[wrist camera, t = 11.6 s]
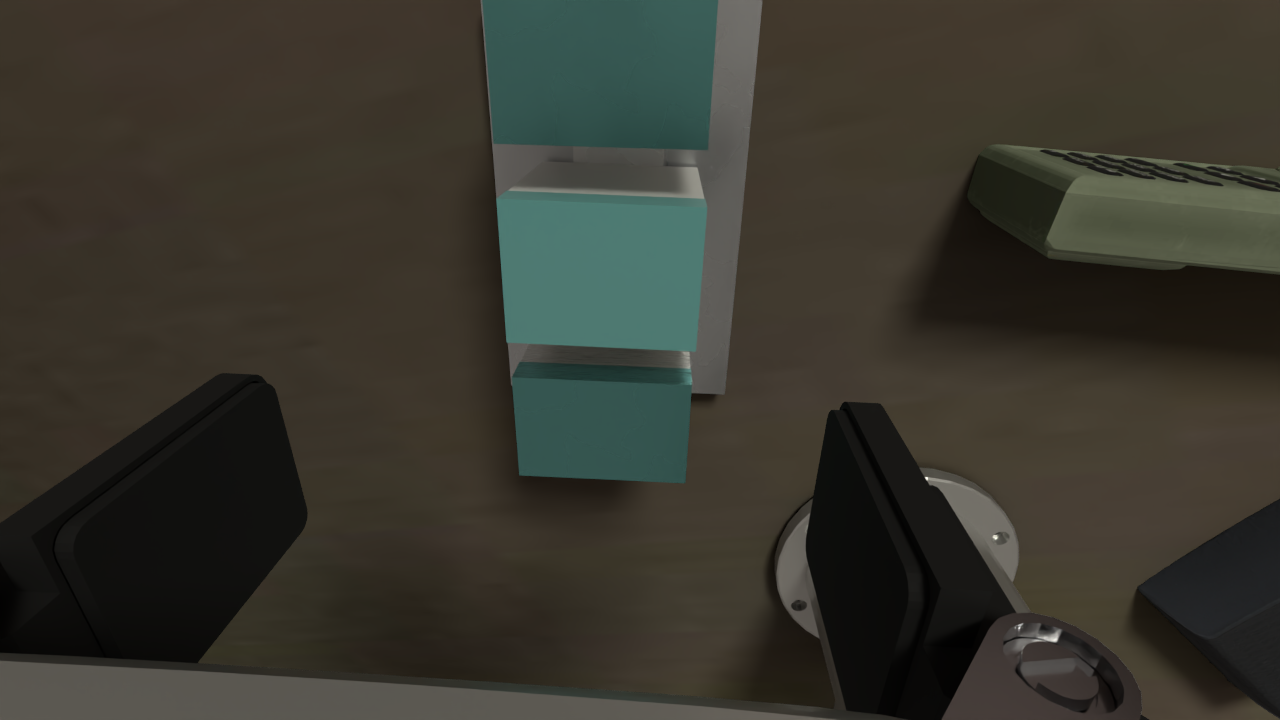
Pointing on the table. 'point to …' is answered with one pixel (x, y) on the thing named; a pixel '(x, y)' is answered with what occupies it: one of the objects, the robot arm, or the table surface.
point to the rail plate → (630, 135)
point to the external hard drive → (1231, 603)
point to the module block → (603, 256)
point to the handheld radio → (1131, 208)
